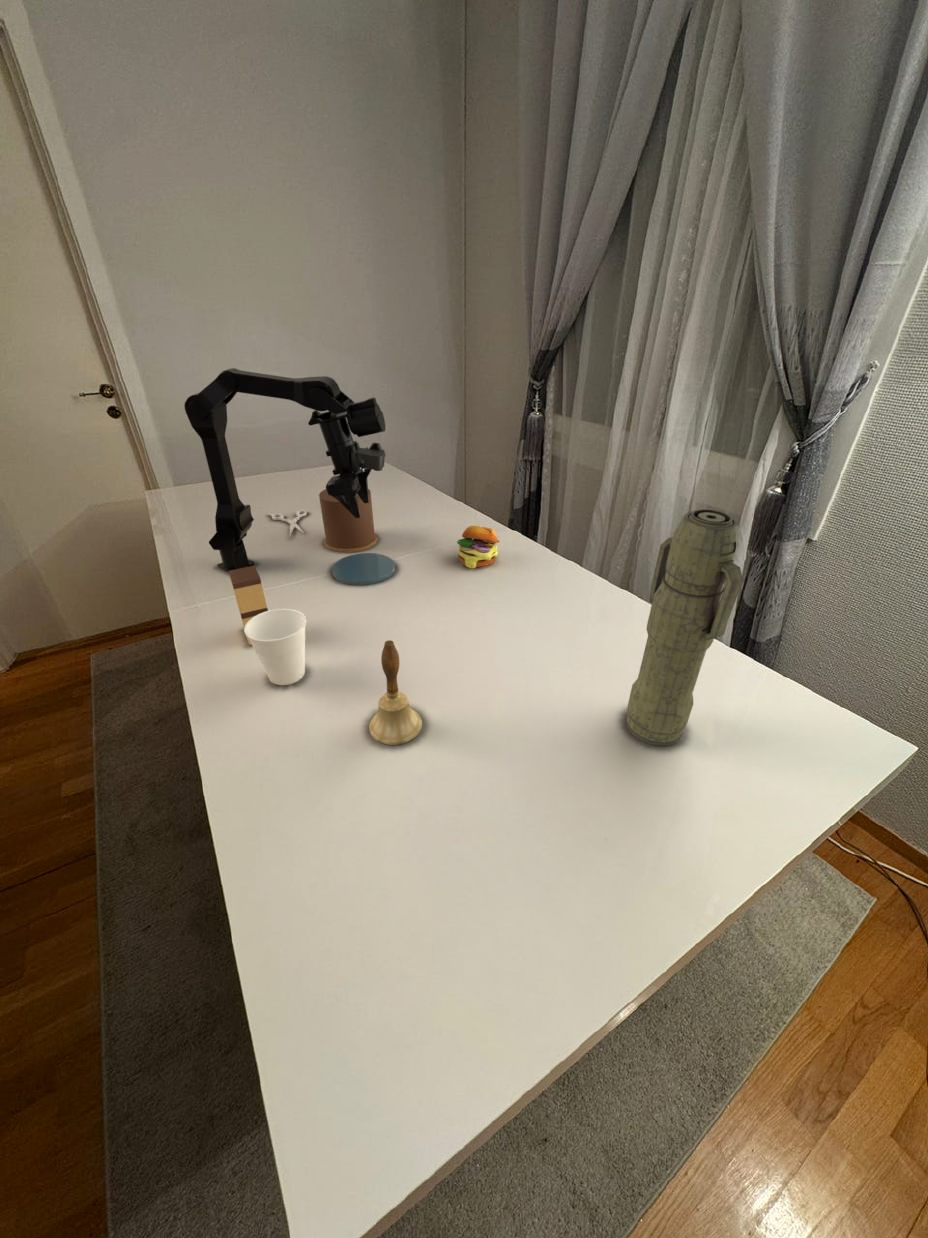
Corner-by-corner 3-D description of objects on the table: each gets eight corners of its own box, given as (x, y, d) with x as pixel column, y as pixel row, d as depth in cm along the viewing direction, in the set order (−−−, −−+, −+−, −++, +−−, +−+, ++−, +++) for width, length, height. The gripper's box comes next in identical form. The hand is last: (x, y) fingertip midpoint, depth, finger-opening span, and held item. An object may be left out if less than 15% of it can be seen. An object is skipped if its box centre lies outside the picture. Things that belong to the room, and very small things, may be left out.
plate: (319, 573, 125) (318, 569, 124) (364, 551, 135) (363, 547, 134) (364, 591, 117) (363, 587, 117) (407, 567, 128) (407, 563, 127)
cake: (313, 543, 139) (305, 495, 132) (351, 526, 148) (346, 480, 141) (350, 557, 132) (343, 506, 125) (387, 538, 142) (383, 491, 134)
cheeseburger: (449, 565, 128) (452, 525, 124) (465, 558, 137) (468, 520, 134) (488, 572, 125) (492, 531, 121) (501, 564, 134) (505, 525, 131)
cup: (263, 700, 86) (248, 647, 80) (253, 668, 94) (239, 616, 88) (322, 683, 90) (312, 631, 84) (308, 653, 98) (299, 603, 92)
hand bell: (374, 707, 85) (364, 626, 77) (424, 708, 85) (420, 627, 76) (364, 744, 78) (352, 660, 70) (419, 746, 78) (414, 662, 69)
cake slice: (244, 630, 104) (228, 570, 97) (269, 623, 106) (255, 565, 99) (249, 645, 100) (232, 584, 92) (274, 638, 102) (260, 578, 94)
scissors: (304, 507, 159) (317, 531, 143) (305, 510, 159) (317, 533, 144) (268, 512, 155) (277, 537, 140) (269, 515, 156) (277, 540, 140)
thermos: (667, 762, 76) (736, 541, 57) (606, 715, 84) (648, 508, 65) (703, 737, 80) (779, 524, 61) (642, 694, 88) (692, 495, 69)
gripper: (366, 445, 101) (389, 519, 109) (383, 423, 117) (402, 489, 125) (313, 456, 103) (339, 528, 111) (337, 433, 119) (358, 498, 127)
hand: (362, 509), depth 118 cm, fingers open, 9 cm apart
